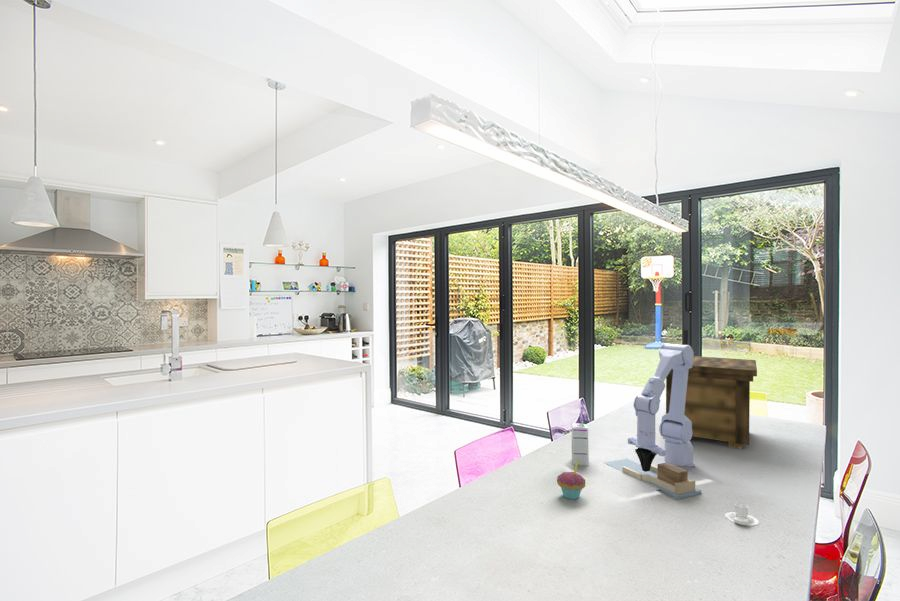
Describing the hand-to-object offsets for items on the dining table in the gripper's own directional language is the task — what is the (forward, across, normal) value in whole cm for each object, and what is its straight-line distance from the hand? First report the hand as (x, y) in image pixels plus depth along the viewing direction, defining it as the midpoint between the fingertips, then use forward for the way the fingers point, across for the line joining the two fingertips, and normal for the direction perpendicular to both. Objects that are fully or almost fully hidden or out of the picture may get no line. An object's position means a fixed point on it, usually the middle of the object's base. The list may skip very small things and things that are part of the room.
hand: (645, 470), depth 159 cm
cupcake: (+2, +2, -33) cm, 33 cm away
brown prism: (+1, +11, 0) cm, 11 cm away
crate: (+2, -24, +63) cm, 68 cm away
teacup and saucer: (+3, +31, -2) cm, 31 cm away
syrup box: (+2, -18, -13) cm, 23 cm away
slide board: (+2, +1, 0) cm, 2 cm away
